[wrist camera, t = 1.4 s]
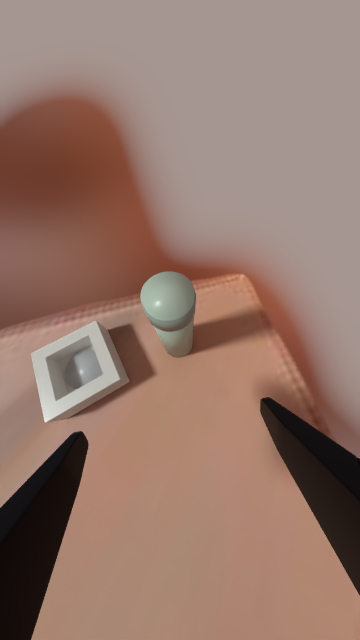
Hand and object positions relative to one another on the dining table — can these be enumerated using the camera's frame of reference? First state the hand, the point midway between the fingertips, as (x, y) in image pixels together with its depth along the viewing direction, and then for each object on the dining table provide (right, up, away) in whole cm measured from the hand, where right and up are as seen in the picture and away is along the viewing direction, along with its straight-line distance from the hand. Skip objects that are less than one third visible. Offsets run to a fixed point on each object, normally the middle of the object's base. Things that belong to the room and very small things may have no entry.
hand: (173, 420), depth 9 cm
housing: (-12, -2, +15) cm, 19 cm away
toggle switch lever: (0, +2, +16) cm, 16 cm away
